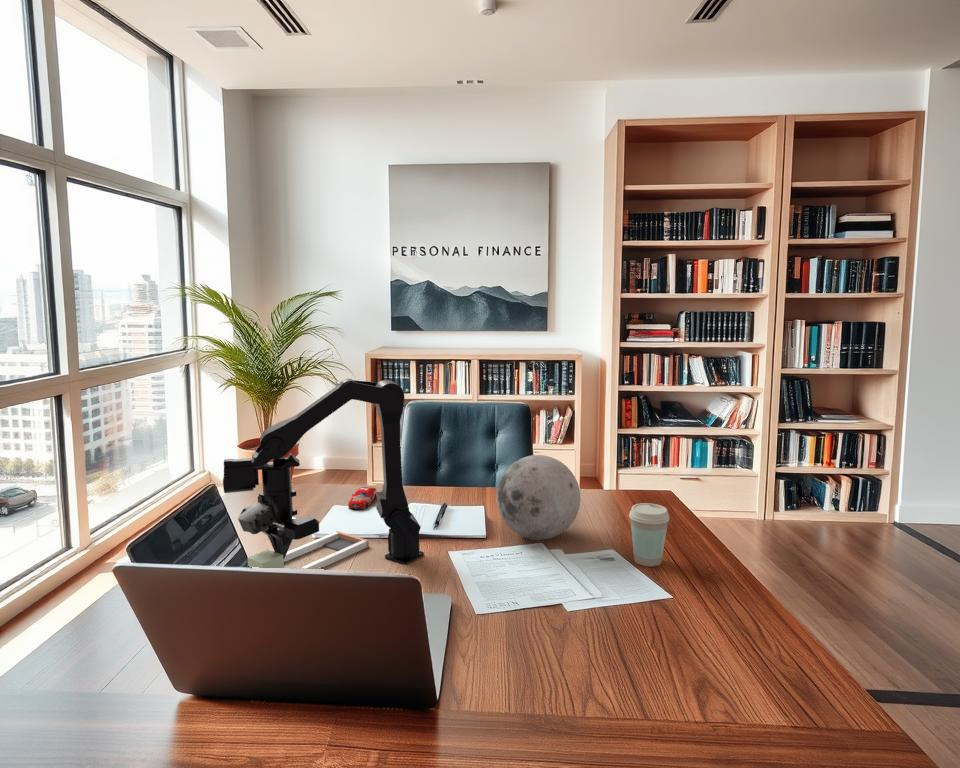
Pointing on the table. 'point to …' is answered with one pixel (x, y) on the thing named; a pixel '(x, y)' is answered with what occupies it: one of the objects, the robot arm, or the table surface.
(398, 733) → the table surface
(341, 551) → the channel
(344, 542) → the grey and orange drawer
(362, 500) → the race car
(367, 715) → the table surface
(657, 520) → the coffee cup
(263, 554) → the block
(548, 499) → the moon model
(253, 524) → the robot arm
